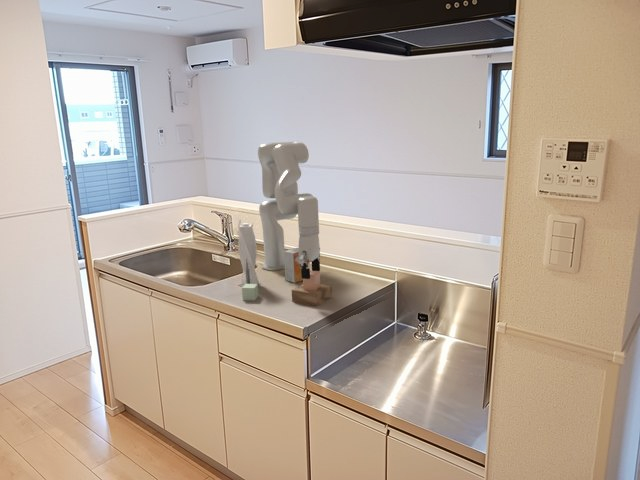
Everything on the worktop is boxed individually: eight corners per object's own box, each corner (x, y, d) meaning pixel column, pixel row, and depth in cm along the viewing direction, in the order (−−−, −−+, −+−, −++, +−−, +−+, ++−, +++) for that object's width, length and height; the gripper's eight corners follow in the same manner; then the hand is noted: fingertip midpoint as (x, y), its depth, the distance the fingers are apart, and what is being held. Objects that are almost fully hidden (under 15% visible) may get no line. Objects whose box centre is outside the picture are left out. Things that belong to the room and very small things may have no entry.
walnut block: (308, 293, 200) (307, 281, 199) (332, 297, 194) (331, 285, 193) (292, 302, 191) (291, 289, 190) (316, 307, 185) (315, 294, 184)
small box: (294, 283, 212) (293, 253, 209) (285, 280, 217) (283, 251, 214) (308, 278, 218) (307, 249, 215) (299, 275, 222) (297, 247, 219)
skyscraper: (236, 285, 214) (230, 220, 207) (250, 280, 219) (246, 217, 213) (248, 289, 208) (243, 222, 202) (263, 284, 214) (258, 219, 207)
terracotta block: (308, 285, 194) (307, 270, 193) (320, 286, 193) (319, 271, 191) (303, 289, 190) (302, 274, 188) (315, 290, 188) (315, 275, 187)
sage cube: (246, 295, 200) (245, 283, 198) (258, 295, 199) (257, 283, 198) (242, 300, 195) (241, 287, 194) (255, 300, 194) (254, 288, 193)
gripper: (308, 225, 195) (310, 267, 199) (289, 235, 180) (292, 280, 184) (326, 225, 192) (328, 269, 196) (309, 235, 177) (311, 282, 181)
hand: (311, 274), depth 190 cm, fingers open, 9 cm apart
